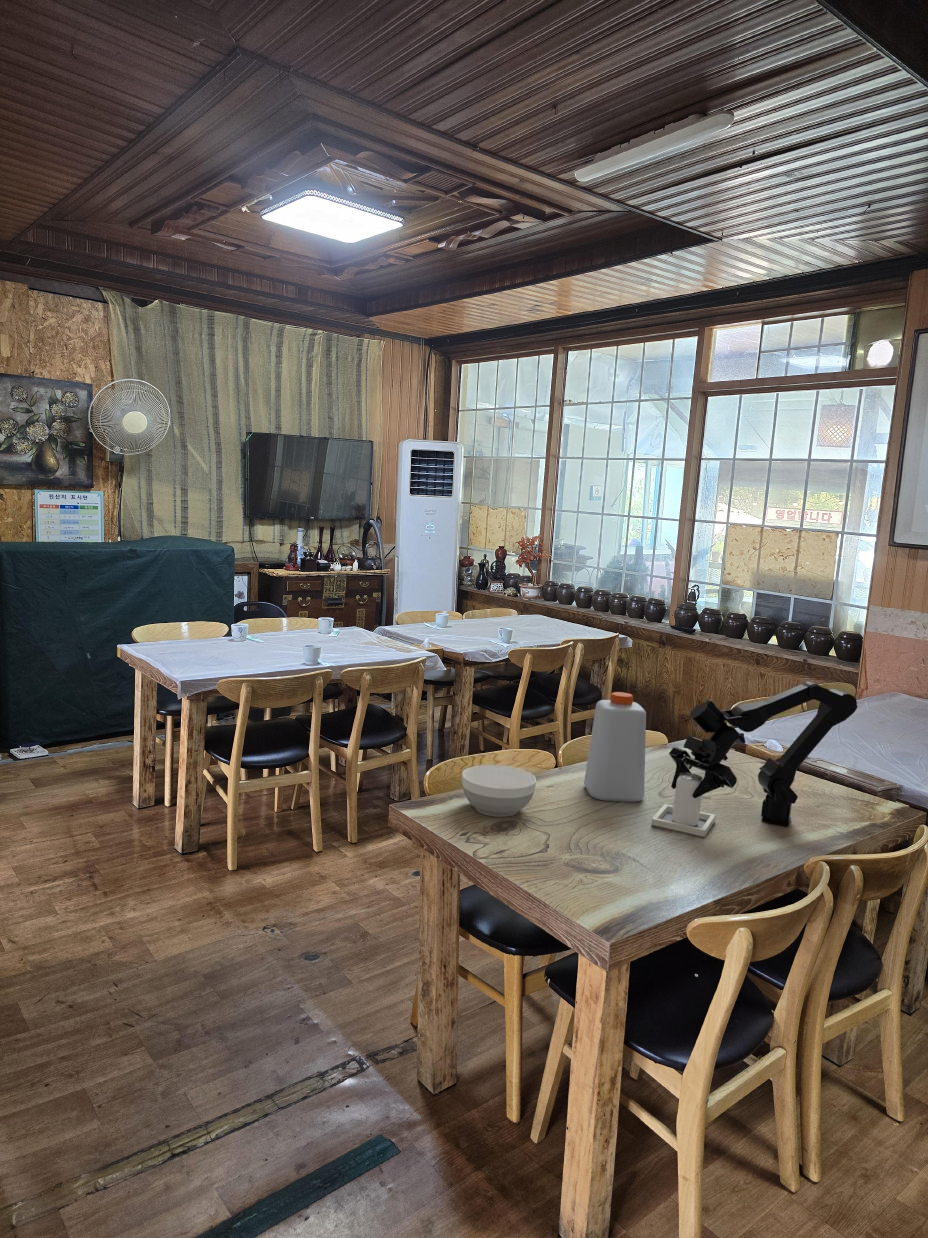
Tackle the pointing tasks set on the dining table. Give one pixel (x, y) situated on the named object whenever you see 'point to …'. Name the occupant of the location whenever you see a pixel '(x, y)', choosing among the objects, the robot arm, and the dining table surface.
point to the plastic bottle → (617, 750)
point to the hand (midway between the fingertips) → (682, 792)
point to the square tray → (665, 822)
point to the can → (687, 800)
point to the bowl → (498, 789)
